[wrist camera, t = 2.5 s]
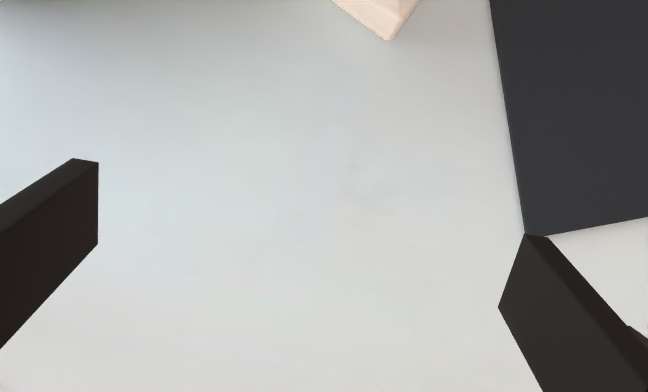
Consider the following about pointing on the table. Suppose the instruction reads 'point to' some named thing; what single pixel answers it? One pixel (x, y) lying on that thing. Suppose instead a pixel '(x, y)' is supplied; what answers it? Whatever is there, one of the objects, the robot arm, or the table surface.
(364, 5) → the medicine bottle
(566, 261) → the robot arm
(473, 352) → the table surface
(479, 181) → the table surface
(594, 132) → the mat
